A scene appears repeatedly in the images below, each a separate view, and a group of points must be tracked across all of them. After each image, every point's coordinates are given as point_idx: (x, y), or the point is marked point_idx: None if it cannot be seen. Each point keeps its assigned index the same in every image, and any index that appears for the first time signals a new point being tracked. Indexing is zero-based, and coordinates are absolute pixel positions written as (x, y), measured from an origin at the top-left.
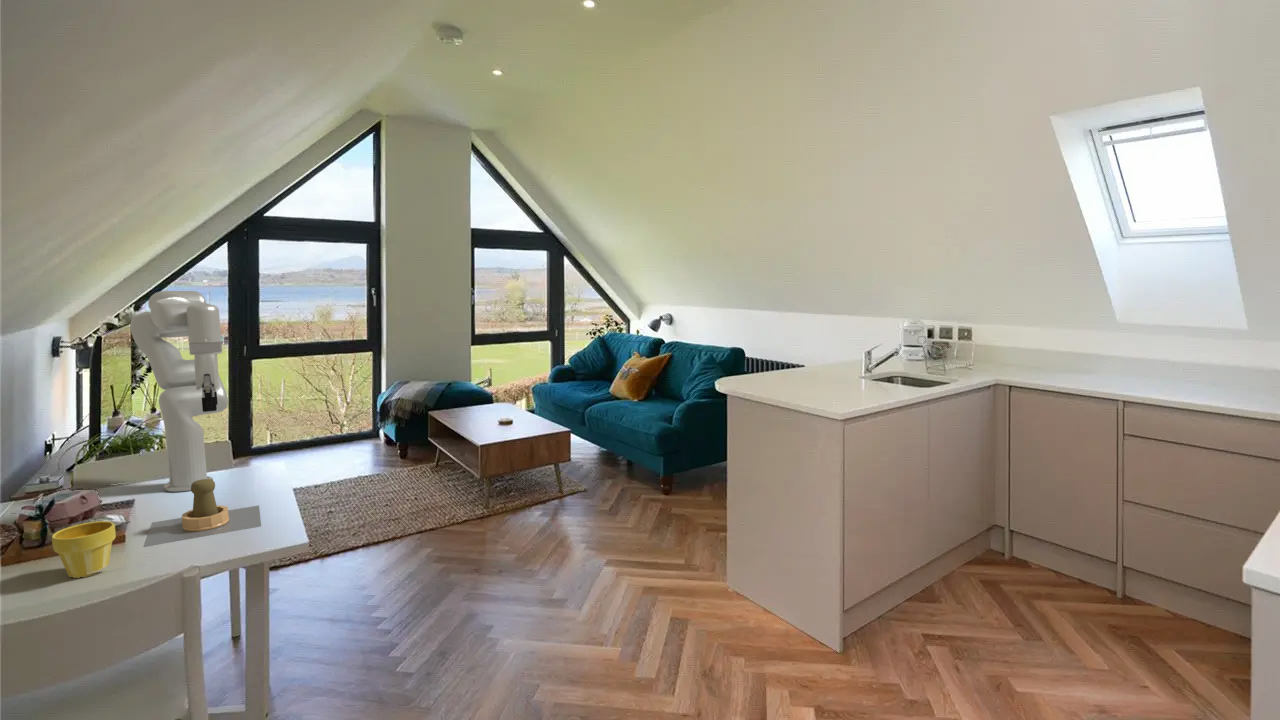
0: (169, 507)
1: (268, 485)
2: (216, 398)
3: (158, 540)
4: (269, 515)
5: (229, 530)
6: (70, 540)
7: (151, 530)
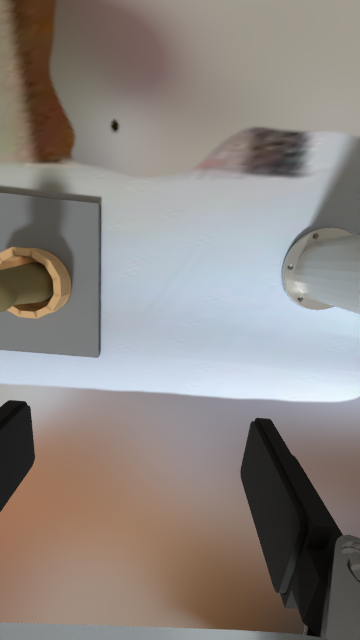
0: (197, 233)
1: (223, 380)
2: (254, 521)
3: None
4: (57, 363)
5: None
6: None
7: (50, 201)
